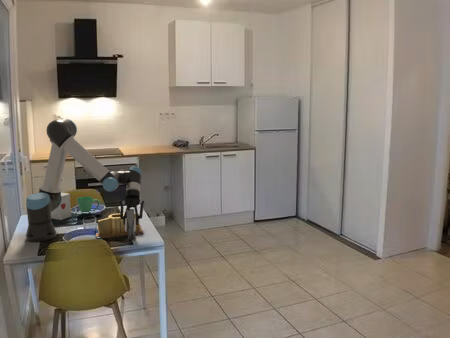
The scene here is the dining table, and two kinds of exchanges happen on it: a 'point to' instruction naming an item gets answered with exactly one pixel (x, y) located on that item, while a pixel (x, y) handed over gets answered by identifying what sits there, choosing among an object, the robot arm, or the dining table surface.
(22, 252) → the dining table surface
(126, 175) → the robot arm
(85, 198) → the mug
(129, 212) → the hinge pin
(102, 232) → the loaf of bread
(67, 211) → the supplement box
